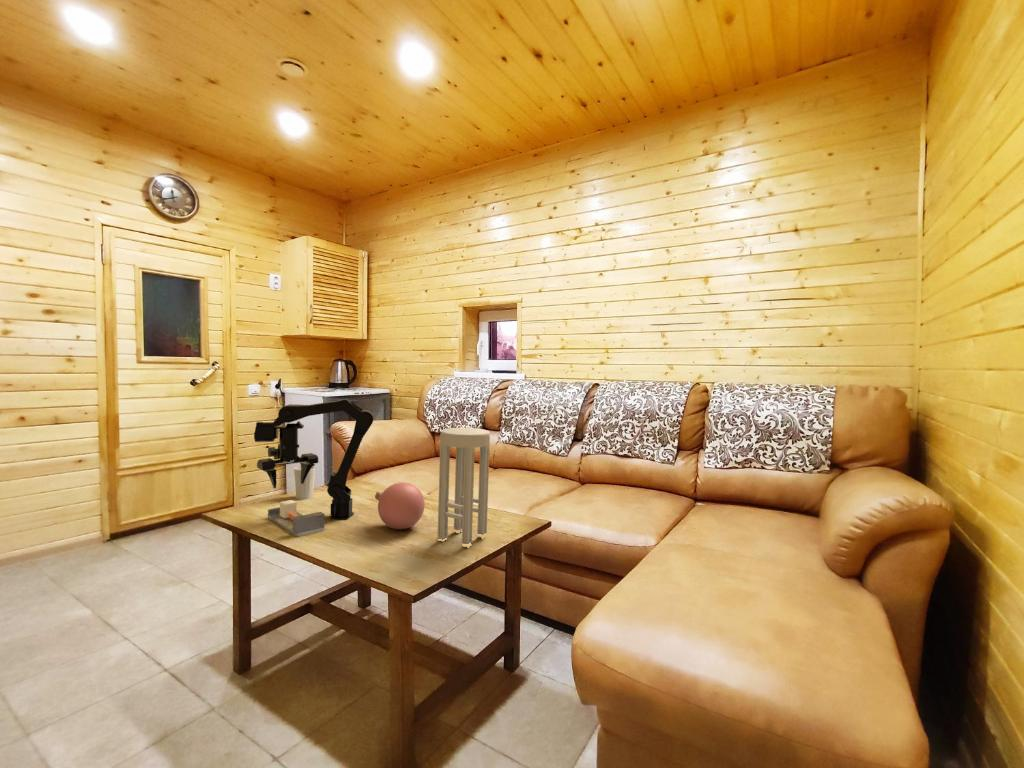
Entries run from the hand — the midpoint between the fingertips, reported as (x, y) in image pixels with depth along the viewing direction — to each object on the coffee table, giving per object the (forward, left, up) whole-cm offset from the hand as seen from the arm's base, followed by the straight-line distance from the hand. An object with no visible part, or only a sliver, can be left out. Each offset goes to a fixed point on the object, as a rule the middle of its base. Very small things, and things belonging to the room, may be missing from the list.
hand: (288, 485), depth 165 cm
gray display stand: (-5, +4, -12) cm, 13 cm away
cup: (+7, -26, -12) cm, 29 cm away
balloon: (-39, +1, -12) cm, 41 cm away
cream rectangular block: (-2, +2, -10) cm, 11 cm away
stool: (-63, +9, -12) cm, 64 cm away
